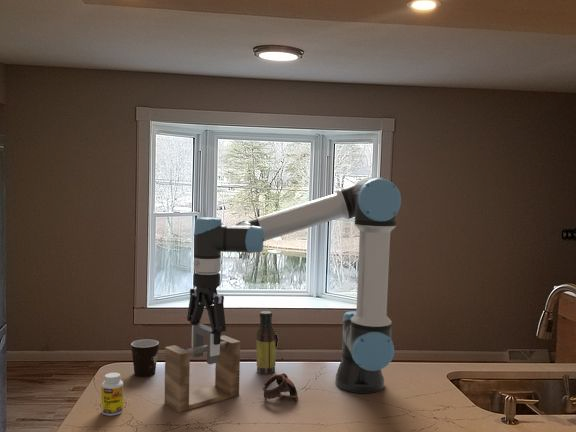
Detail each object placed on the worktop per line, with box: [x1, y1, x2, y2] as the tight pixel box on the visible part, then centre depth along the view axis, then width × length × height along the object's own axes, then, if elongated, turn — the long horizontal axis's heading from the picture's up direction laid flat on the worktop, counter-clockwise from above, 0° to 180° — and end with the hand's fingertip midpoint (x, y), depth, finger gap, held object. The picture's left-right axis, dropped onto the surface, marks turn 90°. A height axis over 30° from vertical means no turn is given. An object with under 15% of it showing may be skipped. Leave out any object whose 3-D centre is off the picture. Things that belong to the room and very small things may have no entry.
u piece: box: [192, 323, 218, 365], centre depth 160 cm, size 9×3×9 cm, turn 42°
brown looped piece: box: [262, 373, 299, 404], centre depth 164 cm, size 12×10×8 cm
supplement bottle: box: [100, 372, 124, 416], centre depth 151 cm, size 6×6×10 cm
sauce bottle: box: [256, 310, 276, 375], centre depth 185 cm, size 6×6×20 cm
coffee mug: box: [130, 338, 160, 378], centre depth 179 cm, size 12×9×10 cm
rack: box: [164, 334, 241, 413], centre depth 161 cm, size 20×8×16 cm, turn 131°
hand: (205, 350), depth 160 cm, fingers closed on u piece, 9 cm apart
